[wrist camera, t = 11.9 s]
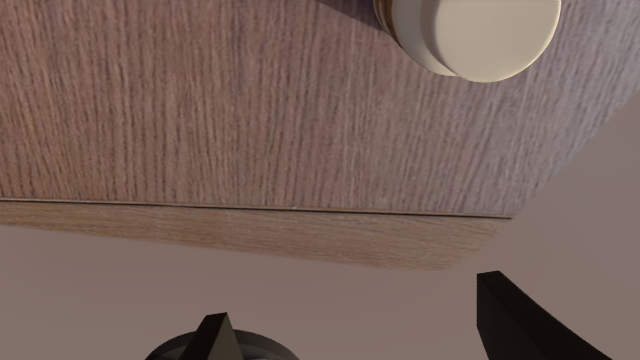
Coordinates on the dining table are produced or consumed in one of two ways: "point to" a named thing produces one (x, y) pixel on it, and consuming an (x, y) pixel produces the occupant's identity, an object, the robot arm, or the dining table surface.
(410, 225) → the dining table surface
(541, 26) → the pill bottle
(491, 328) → the robot arm
